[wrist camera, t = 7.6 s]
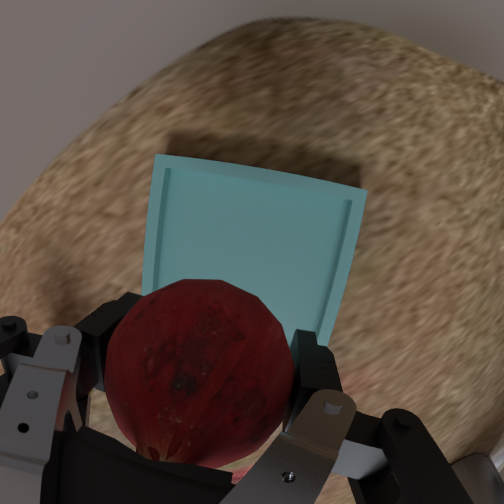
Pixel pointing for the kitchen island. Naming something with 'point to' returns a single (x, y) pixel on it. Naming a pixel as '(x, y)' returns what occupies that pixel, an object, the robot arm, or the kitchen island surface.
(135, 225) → the kitchen island surface
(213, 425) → the dark red rounded piece
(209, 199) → the tray
